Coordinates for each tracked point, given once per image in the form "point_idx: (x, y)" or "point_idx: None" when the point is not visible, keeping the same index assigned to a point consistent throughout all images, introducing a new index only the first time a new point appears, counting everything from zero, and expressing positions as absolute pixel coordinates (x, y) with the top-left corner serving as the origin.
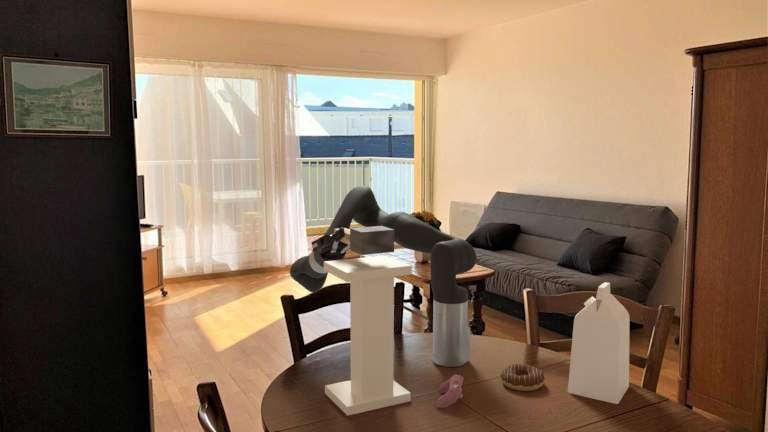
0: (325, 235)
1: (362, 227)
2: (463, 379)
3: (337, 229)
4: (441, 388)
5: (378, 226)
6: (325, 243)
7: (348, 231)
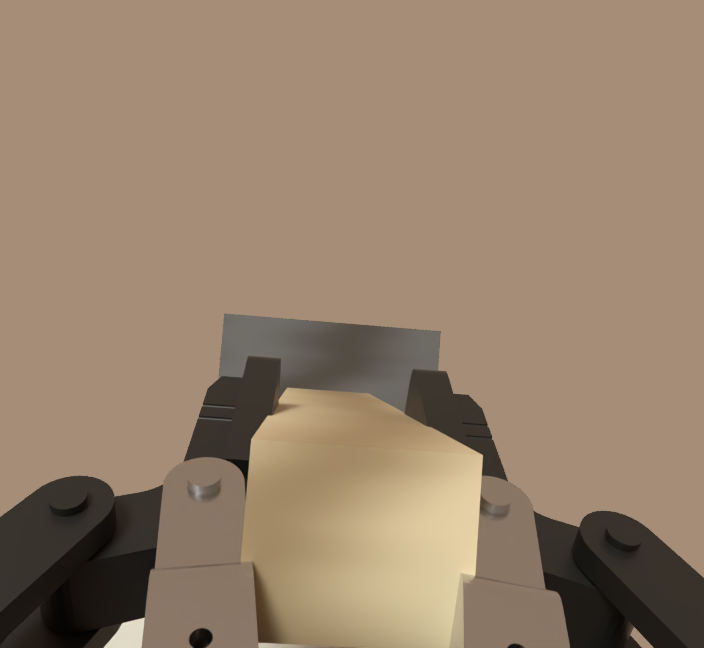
0: (635, 531)
1: (360, 325)
2: None
3: (438, 439)
4: None
5: (256, 317)
6: (626, 639)
7: (343, 413)
